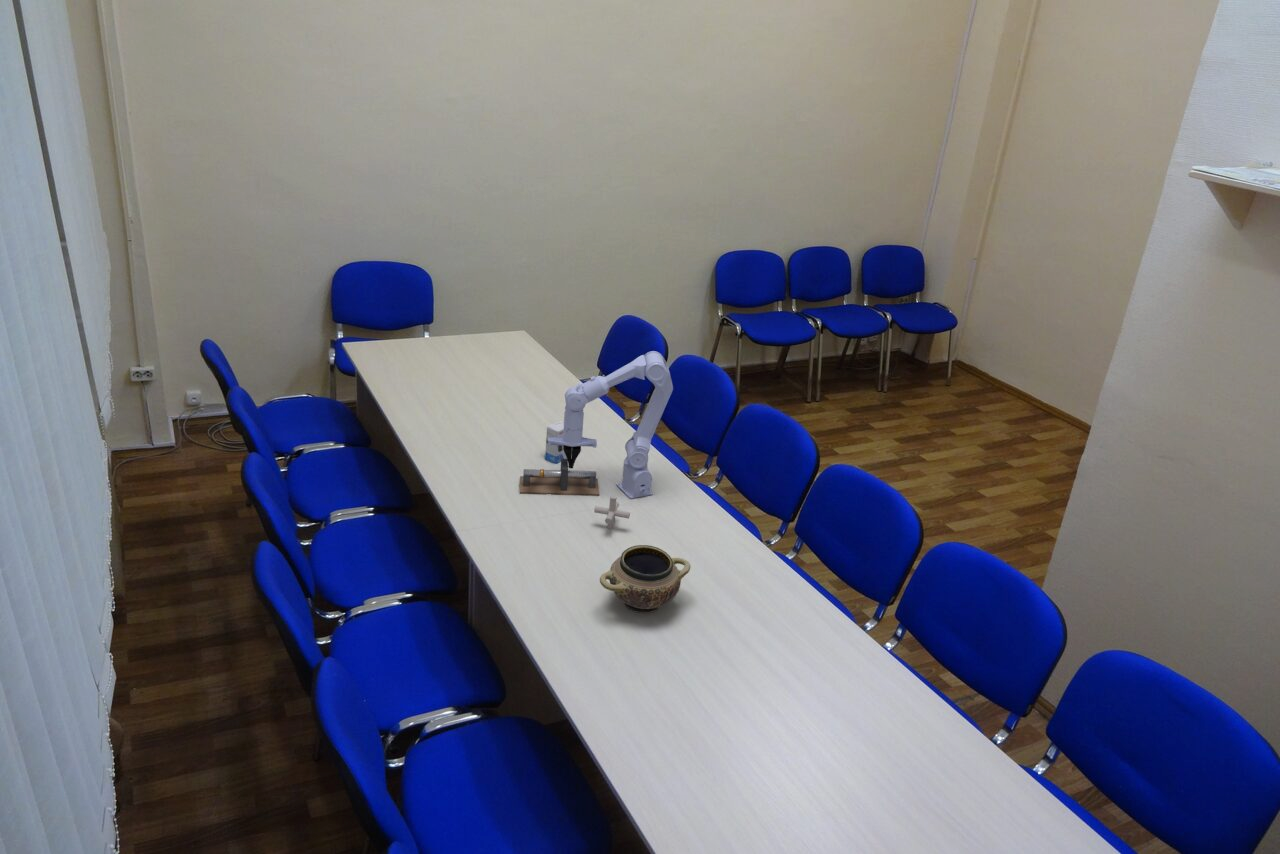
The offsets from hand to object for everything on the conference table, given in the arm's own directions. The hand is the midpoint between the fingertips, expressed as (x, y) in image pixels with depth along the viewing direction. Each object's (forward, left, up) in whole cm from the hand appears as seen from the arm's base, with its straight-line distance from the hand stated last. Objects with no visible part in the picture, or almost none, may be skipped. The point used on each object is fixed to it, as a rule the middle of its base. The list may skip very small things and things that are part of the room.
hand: (570, 467), depth 280 cm
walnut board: (+1, +3, -7) cm, 8 cm away
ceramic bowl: (-61, +8, -7) cm, 62 cm away
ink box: (+19, -5, -7) cm, 21 cm away
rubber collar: (+1, +2, -7) cm, 7 cm away
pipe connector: (-26, -1, -7) cm, 27 cm away
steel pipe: (+1, +3, -7) cm, 8 cm away
